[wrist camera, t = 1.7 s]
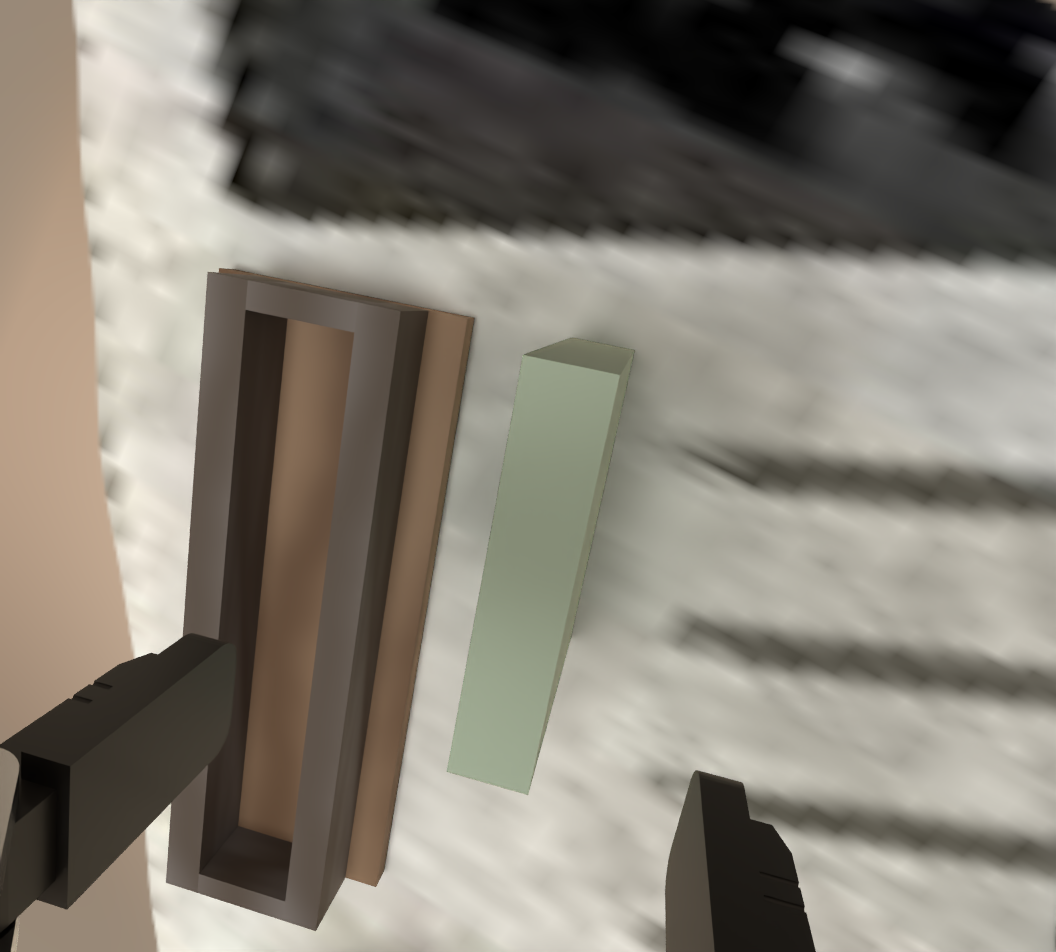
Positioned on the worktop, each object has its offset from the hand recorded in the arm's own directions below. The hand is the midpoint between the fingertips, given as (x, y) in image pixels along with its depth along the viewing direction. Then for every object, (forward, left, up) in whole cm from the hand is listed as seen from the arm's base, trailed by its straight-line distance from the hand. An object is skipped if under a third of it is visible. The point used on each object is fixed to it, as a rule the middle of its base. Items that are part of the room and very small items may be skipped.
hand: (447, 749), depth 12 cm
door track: (+10, +7, -17) cm, 21 cm away
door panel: (0, 0, -17) cm, 17 cm away
